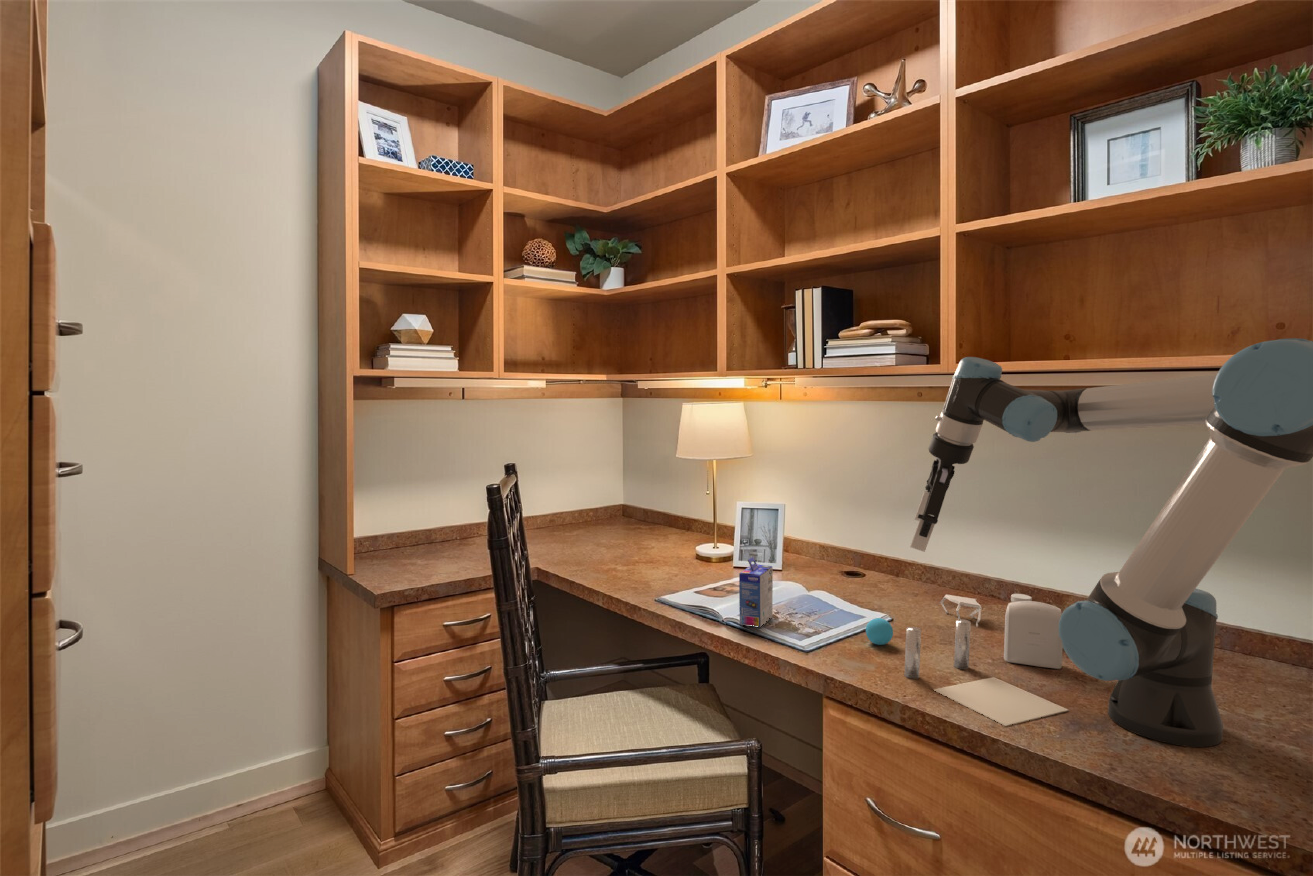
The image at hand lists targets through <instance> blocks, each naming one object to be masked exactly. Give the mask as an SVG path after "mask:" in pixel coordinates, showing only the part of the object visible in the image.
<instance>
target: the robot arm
mask: <svg viewBox="0 0 1313 876" xmlns="http://www.w3.org/2000/svg"><path fill="white" fill-rule="evenodd" d="M1002 372H1003V367H1002V366H1001V365H999V364H998V363H997V362H994V361H992V360H989V359H985V358H981V357H976V356H966V357H963V358H962V359H960V361H959V362H958V365H957V367H956V369H955V372H954V374H953V376H952V377H951V381H950V382H951V383H950V386H949V389H948V392H947V394H946V398H945V402H944V404H943V406H942V409H941V413H940V415H936V416H935V420H936V422H937V423H936V427H935V431H936V432H935V433H933V435H932V436H931V441H930V443H929V446H928V452H929V453H930V454H931V456H933V457H935V458H936V459H935V460H933V462H932V464H931V465H932V466H931V470H930V474H929V477H928V479H927V480H926V484H925V485H926V486H925V490H924V492H923V494H922V495H921V500H920V503H919V505H918V508H917V512H916V513H915V516H914V520H915V521H918V523H917V527H916V530H915V532H914V535H913V538H912V541H911V543H910V548H912V549H915V550H918V551H921V552H926V549H927V546H928V544H929V541H930V538H931V536H932V532H933V530H934V527H935V525H936V524H937V523H938V521H939V520H938V519H939V516H940V512H941V510H942V507H943V503H944V500H945V496H946V493H947V491H948V489H949V488H950V484H951V482H952V481H951V480H952V479H953V478H954V477H955V476H954V475H955V473H956V472H955V471H956V470H955V468H956V466H955V465H956V464H958V465H964V464H967V463H968V462H969V461H970V458H971V456H972V453H973V450H974V448H975V446H974V444H975V443H977V440H978V438H979V436H980V433H981V430H982V428H983V426H984V421H985V422H988V423H989V424H991V425H993V426H995V427H997V428H999V429H1001V430H1003V431H1004V432H1006V433H1008V434H1009V435H1012V437H1014V438H1019V439H1021V440H1023V441H1026V442H1031V443H1035V442H1039V441H1040V440H1041V439H1043V438H1046V437H1047V436H1048V435H1049V434H1050V433H1065V434H1067V433H1069V434H1070V433H1071V434H1073V433H1074V434H1076V433H1081V432H1089V431H1106V430H1107V431H1109V430H1126V429H1147V428H1167V427H1169V428H1170V427H1171V428H1172V427H1186V426H1187V427H1189V426H1190V427H1191V426H1206V428H1207V430H1208V432H1209V438H1208V440H1207V441H1206V443H1205V444H1204V445H1203V447H1202V448H1201V451H1200V452H1199V453H1198V454H1197V456H1196V458H1195V459H1194V461H1193V462H1192V463H1191V465H1190V466H1189V468H1188V469H1187V471H1186V472H1185V474H1184V475H1183V477H1182V478H1181V479H1180V481H1179V483H1178V484H1177V486H1176V487H1175V488H1174V490H1173V492H1172V493H1171V495H1169V498H1168V499H1167V501H1166V502H1165V503H1164V505H1163V506H1162V508H1161V510H1160V511H1159V512H1158V514H1157V515H1156V517H1155V518H1154V520H1153V521H1152V523H1151V524H1150V526H1149V527H1148V529H1147V530H1146V531H1145V533H1144V535H1143V536H1142V538H1141V539H1140V540H1139V542H1138V543H1137V545H1136V546H1135V548H1134V550H1133V551H1132V552H1131V554H1130V555H1129V557H1128V559H1127V560H1126V561H1125V562H1124V564H1123V566H1122V567H1121V569H1120V570H1119V571H1113V572H1106V573H1105V574H1103V575H1102V576H1101V577H1100V579H1099V581H1098V582H1097V583H1096V584H1095V586H1094V587H1093V588H1092V591H1091V592H1090V594H1089V596H1088V597H1087V598H1086V599H1085V600H1077V601H1075V602H1074V603H1072V604H1070V605H1068V606H1067V607H1066V608H1065V609H1064V610H1063V612H1062V615H1061V617H1060V620H1059V626H1058V631H1059V637H1060V639H1061V640H1062V643H1063V645H1062V646H1063V651H1064V652H1065V654H1066V655H1067V657H1068V659H1070V661H1071V662H1072V664H1074V665H1075V666H1076V668H1078V669H1079V670H1080V671H1082V672H1083V673H1084V674H1085V675H1088V676H1089V677H1092V678H1094V679H1097V680H1101V681H1105V682H1107V681H1108V682H1111V681H1117V682H1116V683H1115V685H1114V688H1113V690H1112V692H1111V694H1110V696H1109V699H1108V705H1107V706H1108V707H1107V708H1108V709H1107V715H1108V717H1109V718H1110V719H1111V720H1112V721H1113V722H1114V723H1116V724H1117V725H1118V726H1120V727H1122V728H1123V729H1125V730H1128V731H1130V732H1132V733H1134V734H1137V735H1138V736H1142V737H1145V738H1148V739H1151V740H1154V741H1158V742H1163V743H1165V744H1171V745H1175V746H1177V745H1178V746H1183V747H1193V748H1194V747H1196V748H1205V747H1206V748H1207V747H1214V746H1217V745H1219V744H1220V743H1222V742H1223V737H1224V722H1223V720H1222V716H1221V714H1220V710H1219V706H1218V704H1217V701H1216V697H1215V694H1214V690H1213V686H1212V685H1213V684H1212V683H1213V668H1214V657H1215V642H1216V632H1217V631H1216V630H1217V620H1218V617H1219V616H1218V614H1217V600H1216V597H1215V596H1214V595H1213V594H1212V593H1210V592H1208V591H1206V590H1202V589H1199V588H1198V586H1199V584H1200V583H1201V582H1202V581H1203V579H1204V578H1205V577H1206V575H1207V573H1208V572H1209V571H1210V570H1211V569H1212V567H1214V564H1216V561H1218V559H1219V558H1220V556H1221V555H1222V554H1223V552H1224V551H1225V550H1226V548H1227V547H1228V546H1229V544H1230V543H1231V542H1232V540H1233V539H1234V538H1235V536H1236V535H1237V534H1238V532H1239V531H1240V530H1241V528H1242V527H1243V526H1244V524H1245V523H1246V521H1248V519H1249V517H1250V516H1251V515H1252V513H1253V512H1254V511H1255V509H1256V508H1257V506H1258V505H1259V504H1260V503H1261V501H1262V500H1263V499H1264V497H1265V496H1266V495H1267V494H1268V492H1269V490H1271V488H1272V487H1273V485H1274V484H1275V483H1276V481H1277V480H1278V479H1279V478H1280V477H1281V475H1282V473H1283V472H1284V471H1285V470H1286V469H1288V468H1294V467H1299V466H1303V465H1307V464H1308V463H1309V462H1310V461H1311V460H1312V458H1313V340H1308V339H1306V338H1297V337H1296V338H1292V337H1291V338H1281V339H1280V338H1279V339H1275V340H1265V341H1262V342H1258V343H1254V344H1252V345H1249V346H1247V347H1245V348H1243V349H1241V350H1240V351H1238V352H1236V353H1235V354H1233V355H1232V356H1230V358H1228V359H1227V360H1226V361H1225V363H1223V365H1221V367H1220V368H1219V370H1218V371H1217V373H1216V374H1206V375H1198V376H1190V377H1189V376H1188V377H1179V378H1178V377H1177V378H1169V379H1162V380H1152V381H1144V382H1143V381H1142V382H1141V381H1140V382H1134V383H1133V382H1132V383H1125V384H1115V385H1114V384H1113V385H1107V386H1105V385H1104V386H1096V387H1087V388H1085V387H1084V388H1076V389H1066V390H1049V389H1048V390H1041V389H1023V388H1019V387H1017V386H1015V385H1012V384H1009V383H1007V382H1005V381H1004V380H1002V379H1001V378H1002Z"/></svg>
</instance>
